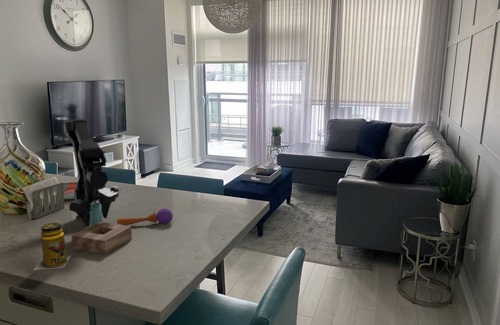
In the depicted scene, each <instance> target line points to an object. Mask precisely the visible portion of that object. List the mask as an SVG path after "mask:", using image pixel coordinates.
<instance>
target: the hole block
mask: <svg viewBox="0 0 500 325" xmlns="http://www.w3.org/2000/svg"><path fill="white" fill-rule="evenodd" d="M132 235H133V234H132V226H131V225H127V226H126V225H119V224H117V223H112V222H104V221H103V222H98V223H96V224H94V225H92V226H91V225H89V227H86V228H84V229H82V230H80V231H78V232H76V233H74V234H72V235H71V242H72V244H71V245H72V250H73V249H74V250H79V251H84V252H90V253H94V254H100V255H108V254H110V253H111V252H112V251H114V250H116V249H118V248H119V247H121V246H122V245H124V244H125V243H127V242H129V241H130V240H132V239H133V236H132Z"/></svg>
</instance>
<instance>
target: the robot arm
mask: <svg viewBox="0 0 500 325" xmlns="http://www.w3.org/2000/svg"><path fill="white" fill-rule="evenodd" d="M89 128H90V127H89V122H88V121H87V119H84V118H80V119H73V120H71V121H69V120H68V121H66V122H65V123H64V124H63V132H64V134H66V138H67V140H68V141H69V142H70V143H71V144H72V149H73V153H74V159H75V166H76V171H77V176H78V180H77V182H76V184H75V189H74V192H73V193H74V194H73V199H74V201H70V203H69V205H68V208H69V211H72V213H75V214H76V215H77V216H76V218H77V219H80V220H81V221H82V223H83V224H84V226H85V227H86V228H88V227H90V211H91V210H92V209H90V207H91V204H93V203H101V210H102V218H103V219H107V218H108V214H109V211H110V207H111V204H112V203H114V202H116V199H117V198H119V196H120V195H119V192H120V191H119V187H117V186H112V187H106V185H107V183H108V180H109V179H108V178H109V177H108V175H107V173H106V172H105V171H103V169H102V167H106V165H107V164H106V163H107V159H106V155H105V153H104V151H103V149H102V148H101V147H100V144H98V142H97V141H93V139H92V138H93V137H92V136H91V134H90V129H89Z"/></svg>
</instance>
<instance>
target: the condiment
mask: <svg viewBox="0 0 500 325" xmlns="http://www.w3.org/2000/svg"><path fill="white" fill-rule="evenodd" d="M62 228H63V227H62V224H61V223H60V222H50V223H46V224H44V225H42V226H41V228H40V230H41V235H40V241H41V242H40V243H41V250H42V257H41V258H39V261H38V262H37V264H36V265H35V267H34V268H33V271H40V270H41V271H42V270H54V269H55V270H56V269H63V268H66V266H67V264H68V263H69V260H70V259H71V255H69V256H67V251H66V240H65V233H64V232H63V229H62Z"/></svg>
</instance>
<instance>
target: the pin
mask: <svg viewBox="0 0 500 325" xmlns="http://www.w3.org/2000/svg"><path fill="white" fill-rule="evenodd" d="M90 209H92V210H91V211H90V219H89V221H90V226H92V225H94V224H96V223H98V222H104V221H103V215H102V210H101V203H99V202H96V203H93V204H91V207H90Z"/></svg>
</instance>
